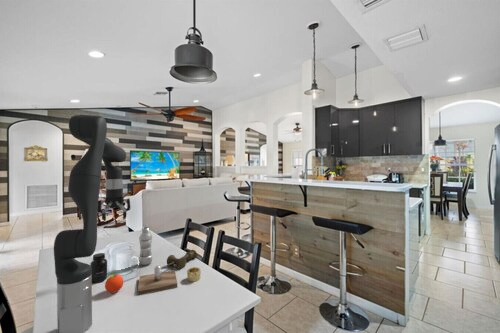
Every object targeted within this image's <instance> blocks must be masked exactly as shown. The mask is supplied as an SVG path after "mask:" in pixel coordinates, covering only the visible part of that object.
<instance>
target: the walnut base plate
mask: <svg viewBox="0 0 500 333" xmlns="http://www.w3.org/2000/svg"><path fill="white" fill-rule="evenodd" d="M161 278H162V279H161V280H160V281H155V275H154V273H151V274H145V275H140V276H139V281H138V286H137V287H138V288H137V296H138V295H144V294H148V293H154V292H159V291H164V290H170V289H174V288H178V279H177V275H176V270H175V269H174V270H168V271H163V272H162V271H161Z"/></svg>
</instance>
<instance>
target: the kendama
mask: <svg viewBox="0 0 500 333" xmlns="http://www.w3.org/2000/svg"><path fill="white" fill-rule="evenodd" d="M197 255H198V254H197V251H196V250H195V249H190V251H189V252H186V253H185V254H184V255H182V257H180V258H177V257H176V256H175V255H174V254H170V255H169V256H168V257H167V258H166V267H170V266H177V269H179V270H182V269H184V268H185V267H186V266H187V261H190V260H192V259H196V258H197Z"/></svg>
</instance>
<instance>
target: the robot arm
mask: <svg viewBox="0 0 500 333" xmlns="http://www.w3.org/2000/svg"><path fill="white" fill-rule="evenodd" d="M68 130H69V132H70V134H71V135H72V136H73V137H74V138H75V139H76V140H78V141H80V142H83V143H85V144H87V145H88V146H89V147H88V149H87V151H86V152H85V154H83V156H82V157H81V158H80V159H79V160H78V161H77V162H76V163H75V164H74V166H73V167H72V169H71V171H70V173H69V178H68V187H67V188H68V189H67V190H68V194H69V196H70V197H71V200H72V201H73V203H74V204H75V205H76V207H77V208H78V210H79V212H80V214H81V216H82V223H83V226H82V228H79V229H76V228H75V229H65V230H62V231H59V232H58V233H57V234H56V236H55V238H54V243H53V256H54V257H53V258H54V273H55V276H56V295H57V296H56V297H57V299H56V307H57V309H56V310H57V311H56V313H57V314H56V316H57V319H56V320H57V323H56V324H57V333H85V332H86V331H88V329H90V328H91V327H92V324H93V302H92V301H93V293H92V292H93V291H92V290H93V288H92V287H93V283H92V269H91V266H90V263H89V264H88V263H85V262H82V261H78V260H77V259H80V258H81V259H82V258H88V257H89V258H90V257H91V256H93V255H94V253H95V252H96V249H97V242H98V213H100V214H101V220H102V221H104V222H106V221H107V211H108V209H109V208H110V209H118V208H120V209H121V210H122V219H123V220H125V219H126V218H127V212H128V211H130V210H131V199H130V198H129V197H128V198H124V183H123V168H121V167H118V166H114V165H113V164H112V163H124V162H125V161H126V159H127V153H126V151H125V149H124V148H123V147H121V146H119V145H117V144H115V143H114V142H113V141H112V140H111V139H110V138H108V137H107V132H108V125H107V121H106V119H105V118H104V116H101V115H92V114H91V115H90V114H89V115H87V114H78V115H73V116H71V117H70V119H69V120H68ZM102 164H104V167H105V177H106V178H105V179H106V180H105V199H104V200H103V199H100V189H101V179H102V167H103V166H102ZM124 202H125V204H126V207H127V208H126V207H125V206H124V204H123V203H124ZM104 204H105V205H106V206H105V208H104V209H102V205H104Z"/></svg>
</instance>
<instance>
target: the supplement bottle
mask: <svg viewBox="0 0 500 333" xmlns="http://www.w3.org/2000/svg"><path fill="white" fill-rule="evenodd" d="M89 265H90V266H91V269H92V284H98V283H101V282H104V281H106V280H105V279H108V260H107V258H106V254H105V253H104V252H97V253H95V254H93V255H92V261H90V263H89Z"/></svg>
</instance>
